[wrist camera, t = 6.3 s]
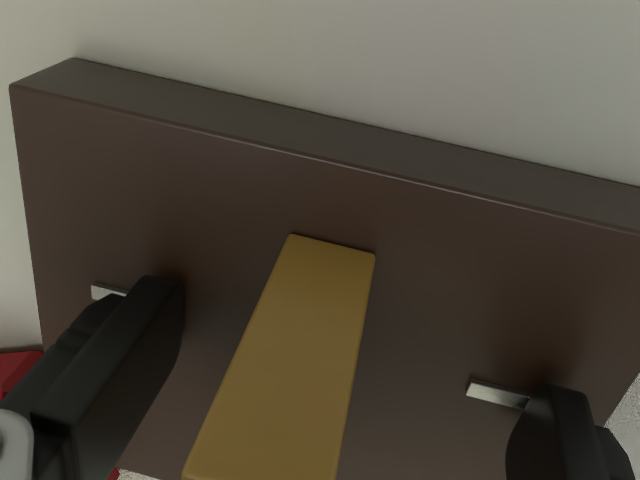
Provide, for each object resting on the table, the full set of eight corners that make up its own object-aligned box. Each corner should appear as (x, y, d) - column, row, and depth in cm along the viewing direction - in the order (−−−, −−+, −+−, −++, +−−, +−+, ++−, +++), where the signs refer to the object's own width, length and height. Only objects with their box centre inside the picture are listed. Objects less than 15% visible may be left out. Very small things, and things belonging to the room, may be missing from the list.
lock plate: (677, 195, 10) (727, 256, 9) (496, 504, 16) (504, 583, 14) (70, 56, 11) (-2, 86, 9) (94, 395, 17) (52, 456, 15)
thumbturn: (289, 230, 10) (169, 494, 6) (376, 252, 10) (326, 537, 5) (258, 416, 13) (161, 692, 8) (327, 434, 13) (265, 725, 8)
